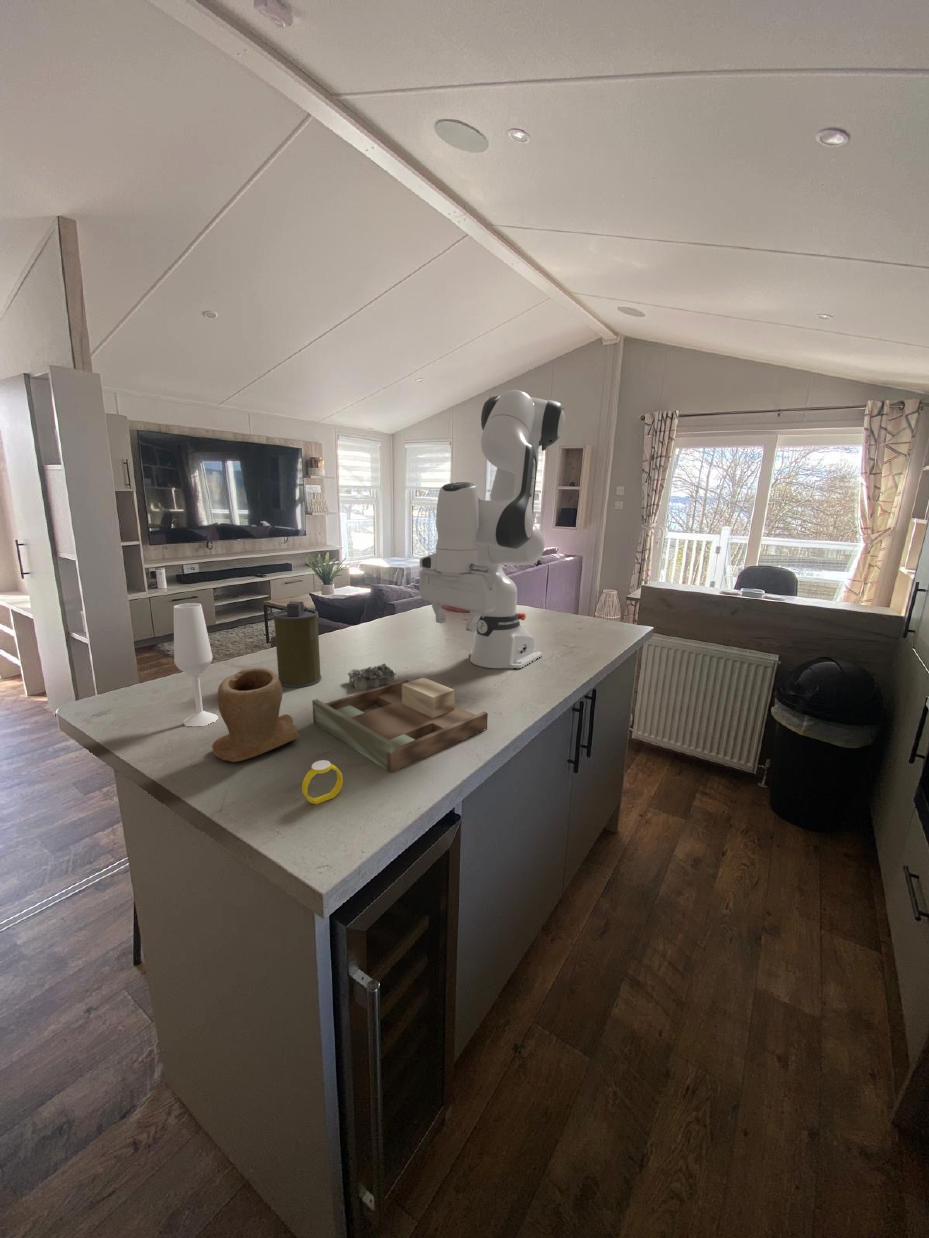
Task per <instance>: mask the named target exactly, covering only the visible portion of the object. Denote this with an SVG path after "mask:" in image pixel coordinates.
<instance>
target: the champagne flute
mask: <svg viewBox="0 0 929 1238" xmlns="http://www.w3.org/2000/svg"><path fill="white" fill-rule="evenodd" d="M204 615H205V614H204V610H203V606H202V604H201V603H197V602H192V603H191V602H189V603H188V602H186V603H180V604H177V605H174V606H173V652H174V653H173V660H174V662H173V663H174V665H175V666H176V667H177V669H179V670H180V671H182V672H183V673H185V674H186V675H188V676H190V677H192V684H193V693H194V701H195V710H196V711H195V712H194V713H193V714H191V715H189V716H188V717H187V718H185V719H184V720H183V721H184V724H185V725H186V726H202V727H205V726H208V724H209V725H211V724H210V723H212V722H214V723H216V722H217V721H218V720H219V718H218V717H219V715H218V714H215V713H212V712H208V711H205V710H204V709H203V699H202V692H201V691H202V690H201V682H200V675H202V674H203V673H204V672H205V670H206V669H208V668H209V666H210V665H211V663H212V661H213V652H212V648H211V644H210V639H209V635H208V630H207V625H206V620H205V616H204ZM217 715H218V716H217ZM217 719H218V720H217ZM216 720H217V721H216ZM212 724H213V723H212ZM186 726H185V727H186Z"/></svg>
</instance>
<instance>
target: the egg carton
mask: <svg viewBox="0 0 929 1238" xmlns="http://www.w3.org/2000/svg"><path fill="white" fill-rule="evenodd" d="M395 675H397V673H396V672H394V670H393V669H391V668H390V667H389V666H388V665H387V664H386V663H382V664H380V665H379V664H378V665H375V666H372V667H371V666H369V667H366V668H365V667H364V668H362V669H358V668H357V669H356V668H354V669H351V670H350V671H349V672H347V676H348V678H349V679H348V680H349V685H350V686H354V690H356V691H357V690H361V691H366V690H367V689H368V688H374V689H376V688H379V687H381V686H383V685H389V684H392V683H395V679H394V678H395V677H394V676H395ZM367 691H368V690H367Z"/></svg>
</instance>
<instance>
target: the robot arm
mask: <svg viewBox="0 0 929 1238" xmlns="http://www.w3.org/2000/svg"><path fill="white" fill-rule="evenodd" d="M480 423H481V424H480V426H481V430H482V433H481V439H480V447H481V451H482V453H483V456H484V457H485V459H486V460H487V461H488V463H490V464H492V465H493V466H494V467H495V468H496V472H495V476H494V479H493V483H492V487H491V491H490V494H489V495H490V500H485V499H484V500H483V499H481V498H479V494H478V493H479V492H478V488H477V484H474V483H473V482H466V481H464V482H462V481H459V482H450V483H446V484H444V485H442V486H441V487H440V489H439V492H438V497H437V504H436V515H435V516H436V517H435V527H436V531H437V540H436V544H435V552H434V553H432V554H428V555H426V556H424V557H423V556H422V557H420V558H419V567H420V569H421V570H420V572H419V580H418V581H419V582H418V590H419V592H418V593H419V595H420V598H421V600H423V601H427V602H431V607H432V610H433V612H434V614H435V623H438V624H445V623H446V622H447V619H446V618H447V615H446V614H445V613H444V611H443V606H448V607H453V608H458V609H463V610H467V611H469V616H471V618H470V619H469V621H467V622H465V626H466V627H465V629H466V631H468V632H471V633H472V632H473V639H472V648H471V650H470V652H469V656H470V657H469V660H470V662H471V663H472V664H473V665H476V666H478V667H483V668H490V669H513V668H517V669H518V668H521V669H522V667H523V668H524V667H526V666H528V665H529V663H530V664H532V663H533V662H536V661H537V660H538V659H540V658H542V657H543V654H542V652H541V651H539V650H538V649H535V639H534V637H533V635H532V634H531V633H530V632H528V631H527V630H526V629H525V628H523V627H522V626H521V623H520V620H521V621H525V620H526V618H527V614H526V613H522V612H518V613H517V604H518V603H517V601H518V588H517V585H516V583H515V582H514V581H513V580H512V579H511V578H509V577H508V576H507V575H506V574H505V572H504V570H503V567H502V565H509V566H518V567H519V566H527V565H534V564H536V563H537V562H538V561H540V559H541V557H542V556H543V554H544V550H545V538H544V535H543V533H542V531H541V530H540V529H539V527H537V525H535V523H534V505H535V495H536V486H537V485H536V483H537V473H538V472H537V471H538V467H539V455H540V453H539V448H540V447H541V451H542V452H543V451H546V450H547V448H548V447H549V446H552V445H553V444H555V443H556V442H557V441H558V439H560V436H561V434H562V432H563V430H564V428H565V423H566V416H565V409H564V407H563V405H562V404H561V403H560V402H559V401H555V400H553V399H548V400H546V399H543V398H538V397H531V396H529V394H528V393H526V392H525V391H522V390H518V389H510V390H507V391H506V392H504V393H503V394H501V395H495V396H491V397H489V398H488V399H487V400H486V401H485V402H484V403H483V407H482V410H481V414H480ZM541 656H542V657H541ZM539 657H540V658H539ZM537 658H538V659H537ZM536 659H537V660H536ZM532 661H533V662H532ZM527 664H528V665H527ZM525 665H526V666H525ZM517 669H516V670H517ZM518 670H519V669H518Z"/></svg>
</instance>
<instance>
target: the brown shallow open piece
mask: <svg viewBox="0 0 929 1238" xmlns="http://www.w3.org/2000/svg"><path fill="white" fill-rule="evenodd" d="M407 682H410V680H408V679H403V680H400V681H396V682H393V683H392V684H389V685H387V684H385V685H381V686H379V687H376V688H373V689H370V690H367V691H366V690H365V691H363V692H360V693H355V694H353V695H349V696H346V697H343V698H339V699H337V700H336V699H335V700H333V701H330V702H327V703H325V702H323V701H321V700H320V699H317V698H316V699H313V700H312V717H313V718H312V719H313V721H312V722H313V724H314V725H316V726H317V727H318V728H320V729H322V730H323V731H325V732H326V733H328V734H330V735H331V736H332V737H334V738H335V739H337V740H339V741H341V742H343V743H344V744H345V745H346V746H348V747H349V748H352V750H355V751H356V752H358V753H360V754H361V755H363V756H364V757H365V758H368V759H369V760H370V761H371V762H373V763H375V764H376V765H378V766H380V767H381V768H383V769H385V770H386V771H387V772H389V773H393V772H396V771H398V770H400V769H402V768H405V767H407V766H409V765H411V764H413V763H416V762H417V761H420V760H423V759H425V758H427V757H429V756H431V755H433V754H435V753H437V752H440V751H441V750H444V749H446V747H447V748H449V747H451V746H453V745H455V744H457V742H458V743H459V741H460V742H461V740H462V741H464V740H466V739H468V738H467V737H469V736H471V737H473V736H475V735H477V734H478V733H477V732H480V731H482V730H484V729H486V730H488V717H489V716H488V712H486V711H482V712H480V713H477V714H474V713H472V712H470V711H468V710H465V709H463V708H460V707H458V706H455V705H454V710H453V711H451V712H448V713H445V714H443V715H440V716H438V717H435V718H431V717H429V716H427V715H425V714H423V713H421V712H418V711H416V710H414V709H412V708H410V707H408V706H406V705H404V704H402V684H404V683H407ZM375 706H379V707H378V708H375V709H373V710H372V709H371V710H369V711H366V712H364V711H363V710H366V709H369V708H371V707H375ZM484 731H485V730H484ZM482 732H483V731H482ZM476 733H477V734H476ZM480 733H481V732H480ZM474 734H475V735H474ZM472 735H473V736H472ZM465 738H466V739H465ZM469 738H470V737H469ZM463 739H464V740H463ZM448 746H449V747H448Z"/></svg>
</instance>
